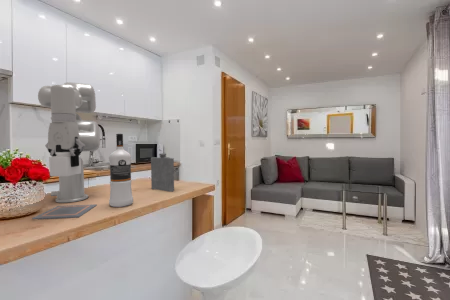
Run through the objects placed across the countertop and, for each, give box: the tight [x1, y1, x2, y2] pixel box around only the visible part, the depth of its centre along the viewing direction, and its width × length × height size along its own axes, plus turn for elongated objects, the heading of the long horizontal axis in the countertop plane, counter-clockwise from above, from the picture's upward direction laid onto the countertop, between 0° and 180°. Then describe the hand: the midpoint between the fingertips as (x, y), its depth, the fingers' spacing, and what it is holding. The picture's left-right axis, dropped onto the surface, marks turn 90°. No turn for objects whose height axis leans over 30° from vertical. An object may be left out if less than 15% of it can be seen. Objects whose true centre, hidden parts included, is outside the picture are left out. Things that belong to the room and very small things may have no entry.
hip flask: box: [150, 153, 175, 193], centre depth 126 cm, size 16×4×20 cm, turn 59°
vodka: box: [108, 133, 134, 208], centre depth 97 cm, size 9×9×30 cm
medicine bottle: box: [48, 145, 82, 177], centre depth 87 cm, size 7×7×12 cm
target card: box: [31, 204, 98, 220], centre depth 87 cm, size 15×15×1 cm
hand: (65, 165), depth 87 cm, fingers closed on medicine bottle, 7 cm apart
